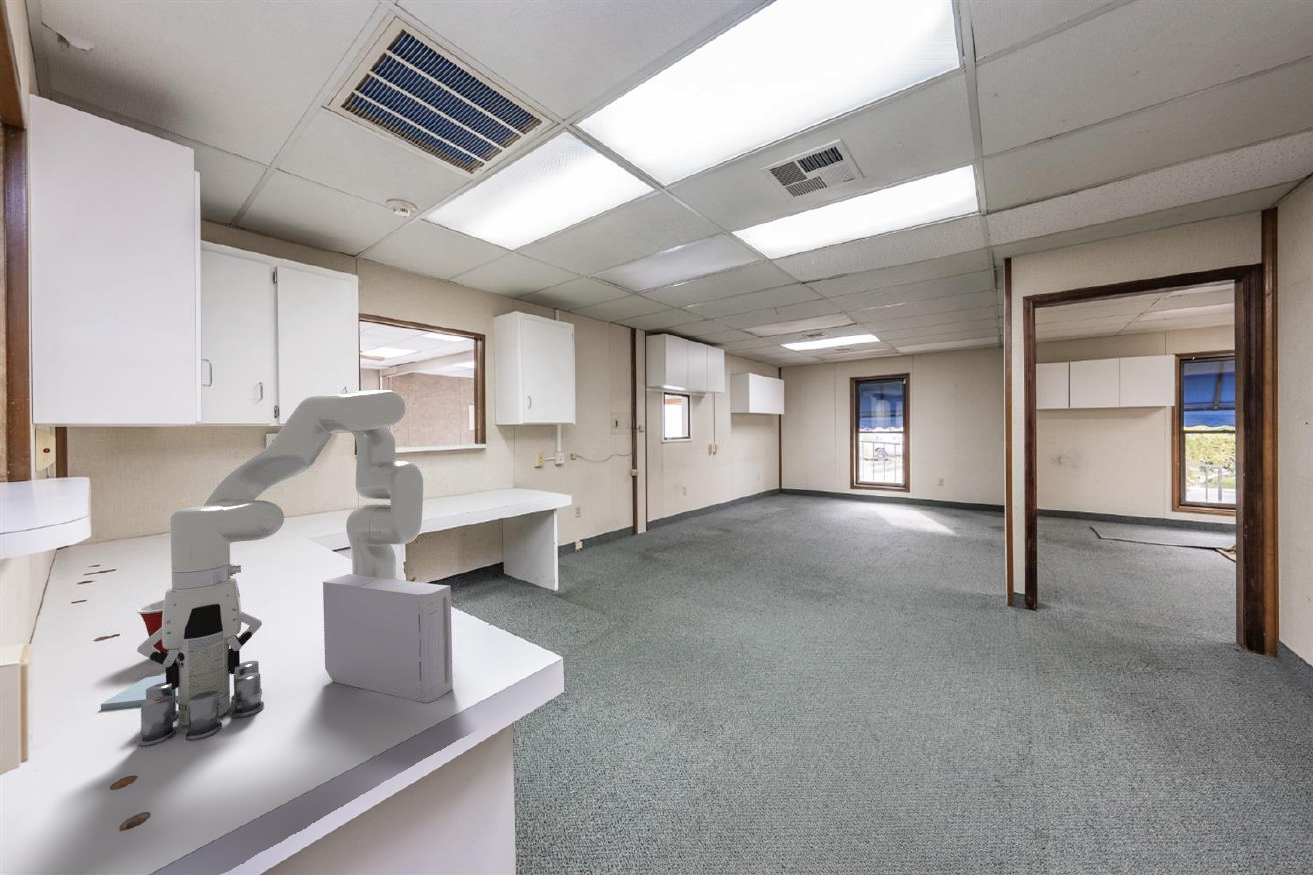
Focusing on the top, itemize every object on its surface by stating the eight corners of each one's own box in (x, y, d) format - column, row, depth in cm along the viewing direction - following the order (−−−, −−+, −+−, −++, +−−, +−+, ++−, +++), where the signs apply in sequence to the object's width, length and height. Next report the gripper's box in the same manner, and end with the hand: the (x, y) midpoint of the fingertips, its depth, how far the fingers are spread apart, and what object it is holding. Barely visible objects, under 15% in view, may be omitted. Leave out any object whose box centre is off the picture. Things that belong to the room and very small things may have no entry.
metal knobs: (286, 687, 94) (285, 656, 94) (233, 735, 79) (232, 699, 79) (181, 698, 91) (180, 667, 91) (105, 752, 76) (104, 713, 75)
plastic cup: (155, 647, 114) (153, 596, 114) (213, 639, 118) (212, 590, 118) (125, 667, 104) (123, 612, 104) (190, 658, 108) (188, 604, 108)
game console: (429, 705, 87) (426, 595, 87) (323, 681, 97) (321, 581, 96) (453, 689, 93) (451, 585, 92) (351, 667, 102) (349, 573, 102)
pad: (221, 674, 100) (221, 669, 100) (185, 700, 90) (185, 694, 90) (146, 682, 97) (146, 677, 97) (100, 709, 88) (100, 704, 88)
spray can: (201, 706, 88) (198, 597, 88) (240, 704, 89) (238, 595, 88) (167, 728, 81) (164, 610, 81) (210, 726, 82) (207, 608, 82)
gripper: (264, 563, 93) (266, 655, 93) (132, 583, 82) (135, 688, 82) (266, 571, 88) (269, 669, 88) (125, 593, 76) (128, 706, 76)
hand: (204, 677), depth 85 cm, fingers closed on spray can, 6 cm apart
